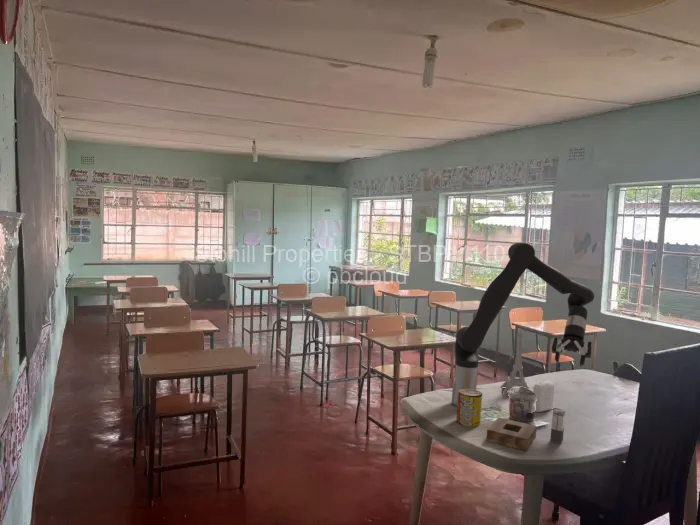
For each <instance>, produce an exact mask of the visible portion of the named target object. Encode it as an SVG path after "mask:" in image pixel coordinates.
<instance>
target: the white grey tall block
mask: <svg viewBox="0 0 700 525" xmlns="http://www.w3.org/2000/svg"><path fill="white" fill-rule="evenodd" d="M565 418H566V410H565V409H564V410H562V409H558V408H554V409H553V410H552V419H551V430H550V442H551V443H556V444H559V445H562V442H563V441H564V432H565Z"/></svg>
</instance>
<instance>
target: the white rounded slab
mask: <svg viewBox="0 0 700 525" xmlns="http://www.w3.org/2000/svg"><path fill="white" fill-rule="evenodd" d="M532 389H533V391H532V393H533V392H534V393H535V394H536V395H537V401H536V411H535V412H536V413H539V412H540V413H541V412H545V411H550V410H552V409H553V406H554V405H553V403H554V396H555V395H554V393H555V385H554V383H553V381H552V382H551V381H549V380H543V381H539V382H537V383H536V384H534V385H533V388H532Z"/></svg>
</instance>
